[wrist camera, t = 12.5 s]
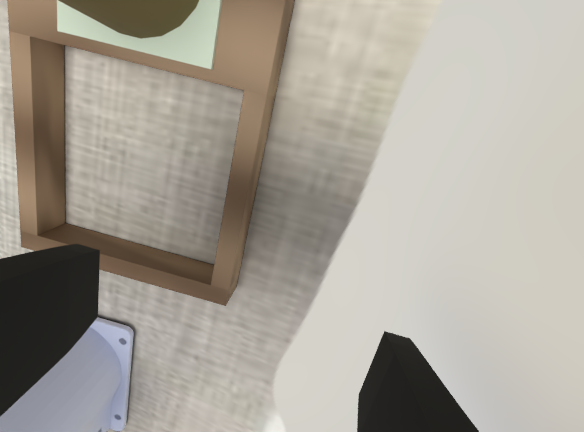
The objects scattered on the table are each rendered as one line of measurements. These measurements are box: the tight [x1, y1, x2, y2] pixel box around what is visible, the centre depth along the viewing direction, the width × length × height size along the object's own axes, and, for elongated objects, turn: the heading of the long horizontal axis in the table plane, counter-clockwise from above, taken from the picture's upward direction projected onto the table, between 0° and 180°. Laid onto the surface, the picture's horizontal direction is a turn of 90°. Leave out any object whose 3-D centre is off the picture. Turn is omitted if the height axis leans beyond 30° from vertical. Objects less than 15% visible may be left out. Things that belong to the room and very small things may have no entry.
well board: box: [7, 0, 295, 306], centre depth 16 cm, size 20×12×2 cm, turn 167°
